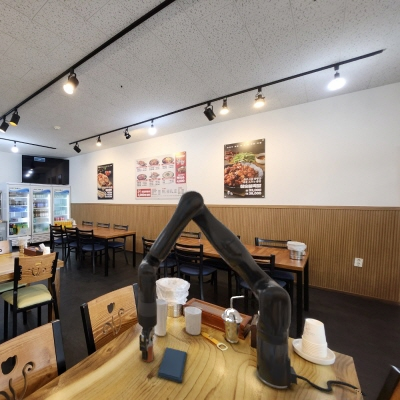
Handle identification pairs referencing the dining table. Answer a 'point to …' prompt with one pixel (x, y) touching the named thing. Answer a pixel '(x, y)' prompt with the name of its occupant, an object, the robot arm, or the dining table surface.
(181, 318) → the dining table surface
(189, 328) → the white cup
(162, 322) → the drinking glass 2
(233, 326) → the cup with straw
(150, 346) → the pill bottle
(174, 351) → the blue flat rectangular block
